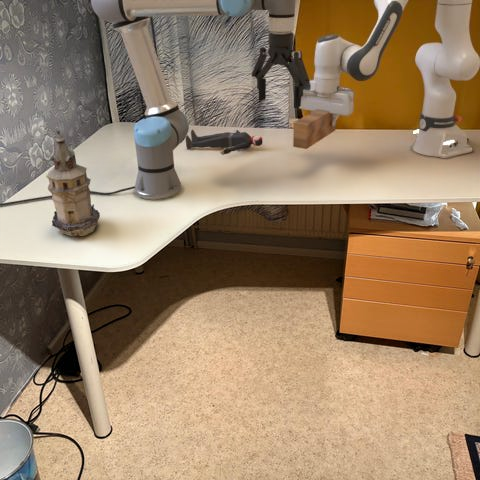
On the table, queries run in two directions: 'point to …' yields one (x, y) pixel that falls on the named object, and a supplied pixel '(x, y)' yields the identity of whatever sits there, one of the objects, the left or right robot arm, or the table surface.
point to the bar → (312, 129)
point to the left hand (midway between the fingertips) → (279, 103)
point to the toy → (224, 141)
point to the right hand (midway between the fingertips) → (324, 124)
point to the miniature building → (70, 193)
